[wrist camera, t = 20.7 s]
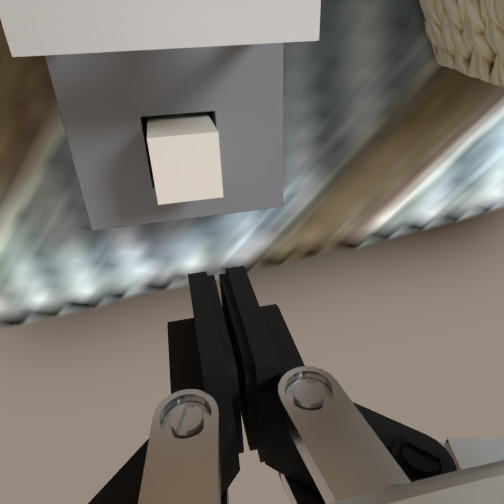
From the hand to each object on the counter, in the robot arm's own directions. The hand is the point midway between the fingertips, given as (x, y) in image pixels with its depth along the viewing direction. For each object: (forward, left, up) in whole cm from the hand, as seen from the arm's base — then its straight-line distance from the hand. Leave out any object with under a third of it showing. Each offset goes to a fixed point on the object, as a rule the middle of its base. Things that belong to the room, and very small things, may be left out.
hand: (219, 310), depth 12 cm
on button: (0, 0, -20) cm, 20 cm away
